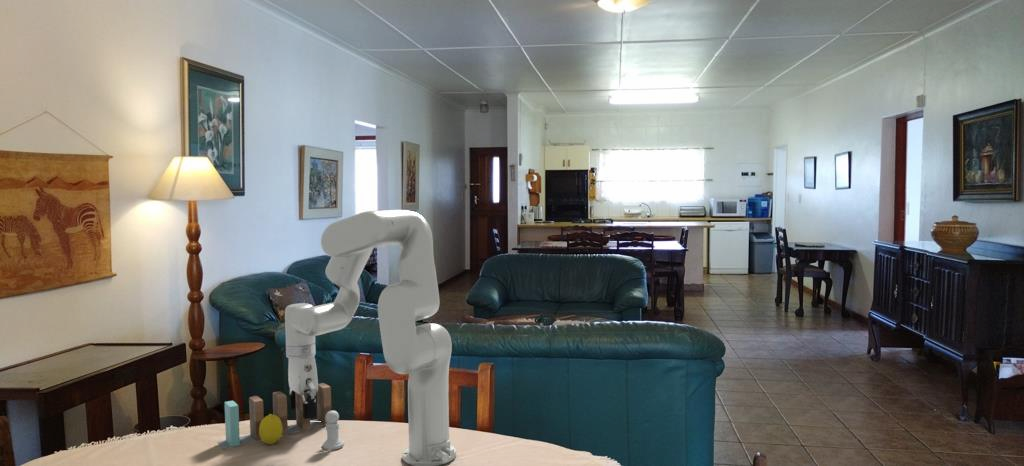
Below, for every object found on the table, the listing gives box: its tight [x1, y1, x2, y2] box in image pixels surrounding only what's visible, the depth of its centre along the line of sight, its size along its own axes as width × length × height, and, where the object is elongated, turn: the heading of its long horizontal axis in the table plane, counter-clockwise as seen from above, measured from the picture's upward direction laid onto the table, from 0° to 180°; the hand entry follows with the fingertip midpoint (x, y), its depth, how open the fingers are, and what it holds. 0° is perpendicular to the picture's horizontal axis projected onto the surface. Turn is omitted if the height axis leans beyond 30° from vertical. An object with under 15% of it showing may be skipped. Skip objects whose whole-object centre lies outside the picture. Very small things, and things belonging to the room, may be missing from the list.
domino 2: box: [272, 390, 289, 436], centre depth 169 cm, size 5×2×10 cm, turn 38°
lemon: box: [259, 413, 283, 446], centre depth 160 cm, size 6×6×8 cm
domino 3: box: [295, 391, 311, 431], centre depth 172 cm, size 5×2×10 cm, turn 38°
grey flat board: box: [216, 418, 326, 450], centre depth 168 cm, size 6×28×1 cm, turn 128°
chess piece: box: [322, 409, 345, 451], centre depth 159 cm, size 5×5×9 cm
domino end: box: [224, 400, 241, 448], centre depth 161 cm, size 5×2×10 cm, turn 38°
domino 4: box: [316, 382, 332, 424], centre depth 176 cm, size 5×2×10 cm, turn 38°
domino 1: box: [248, 395, 265, 442], centre depth 165 cm, size 5×2×10 cm, turn 38°
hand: (302, 412), depth 172 cm, fingers open, 9 cm apart
